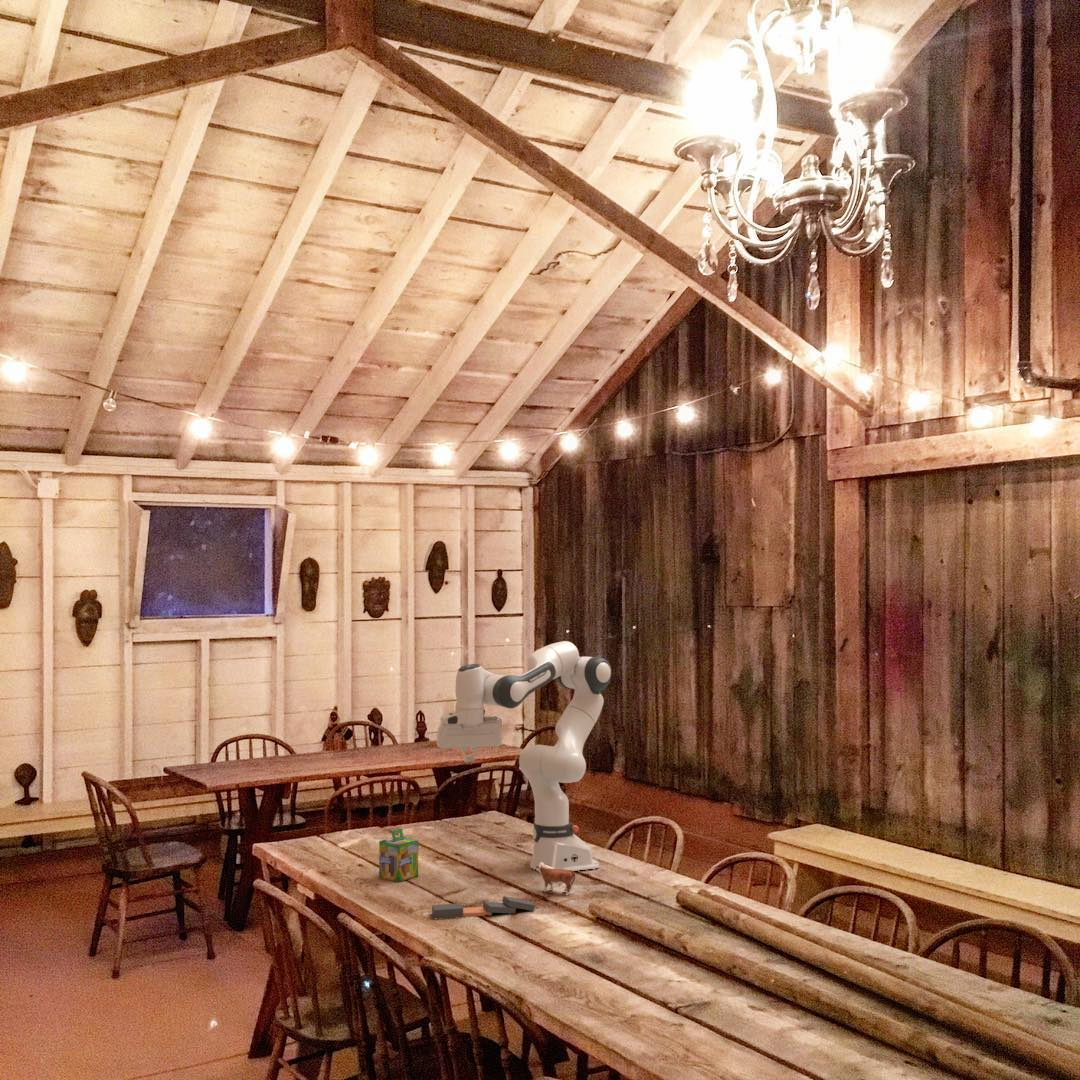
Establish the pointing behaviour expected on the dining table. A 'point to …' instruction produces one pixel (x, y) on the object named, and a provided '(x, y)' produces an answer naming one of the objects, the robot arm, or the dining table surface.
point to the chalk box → (398, 858)
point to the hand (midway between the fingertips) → (469, 761)
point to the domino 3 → (475, 911)
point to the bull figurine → (556, 876)
